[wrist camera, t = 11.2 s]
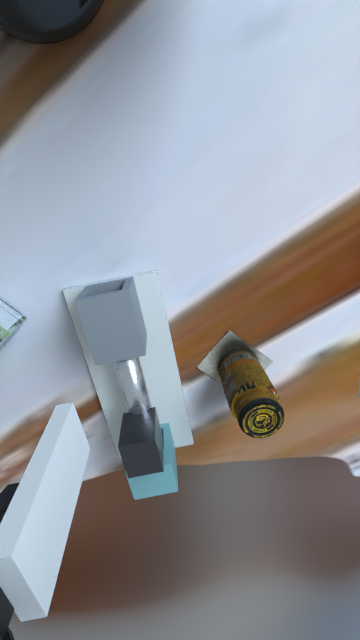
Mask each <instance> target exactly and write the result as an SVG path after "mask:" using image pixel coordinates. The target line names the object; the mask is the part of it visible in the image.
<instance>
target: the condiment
mask: <svg viewBox="0 0 360 640" xmlns="http://www.w3.org/2000/svg"><path fill="white" fill-rule="evenodd" d="M239 347H240V348H239ZM216 362H217V364H216ZM272 362H273V361H271V360H270V359H269V358H267V357H266V356H265V355H263V354H262V353H260V352H259V351H258V350H256V349H255V348H253V347H252V346H251V345H249V344H248V343H246V342H245V341H244V340H242V339H241V338H240V337H238V336H237V335H235V334H234V333H232V332H231V331H230V330H229V331H228V333H227V334H226V335H225V336H224V337H223V338H222V339H221V340H220V341H219V342H218V343H217V344H216V346H215V347H214V348H213V349H212V350H211V351H210V352H209V354H208V355H207V356H206V357H205V358H204V359H203V360H202V362H201V363H200V364H199V365H198V366H197V368H198V369H200V370H201V371H203V372H205V373H206V374H207V375H209V376H211V377H212V378H214V379H215V380H217V381H218V382H220V383H222V386H223V388H224V393H225V394H226V398H227V401H228V404H229V407H230V409H231V412H232V414H233V415H234V417H235V418H236V419H237V421H238V422H239V426H240V428H241V429H242V431H243V432H244V433H246V434H247V435H249V436H251V437H254V438H264V437H268V436H270V435H272V434H274V433H275V432H276V431H278V430H279V429H280V428H281V426H282V424H283V421H284V411H283V408H282V407H281V405H280V402H279V396H278V393H277V391H276V390H275V388H274V386H273V385H272V383H271V381H270V380H269V378H268V376H267V374H266V373H265V371H264V370H265V369H266V368H267V367H268V366H269V365H270V364H271V363H272ZM217 365H218V366H217Z"/></svg>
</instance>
